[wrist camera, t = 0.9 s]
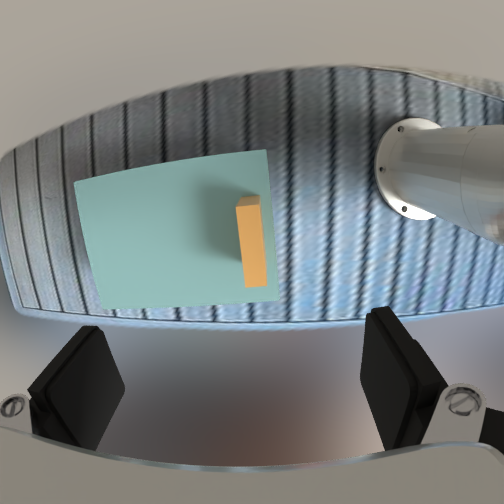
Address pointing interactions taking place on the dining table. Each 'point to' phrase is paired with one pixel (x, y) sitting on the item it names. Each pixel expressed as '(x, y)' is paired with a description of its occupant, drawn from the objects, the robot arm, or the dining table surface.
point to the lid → (182, 233)
